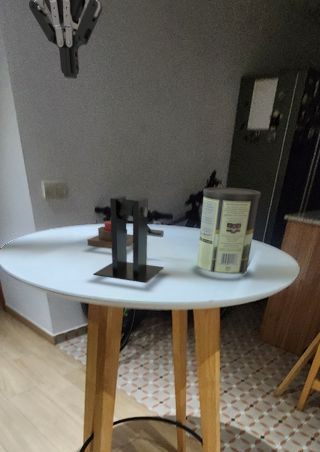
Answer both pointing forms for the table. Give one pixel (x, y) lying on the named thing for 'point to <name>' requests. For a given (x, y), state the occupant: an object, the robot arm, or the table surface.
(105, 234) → the block
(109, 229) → the button
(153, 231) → the lever
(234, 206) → the coffee can
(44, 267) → the table surface
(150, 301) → the table surface
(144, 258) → the bracket
